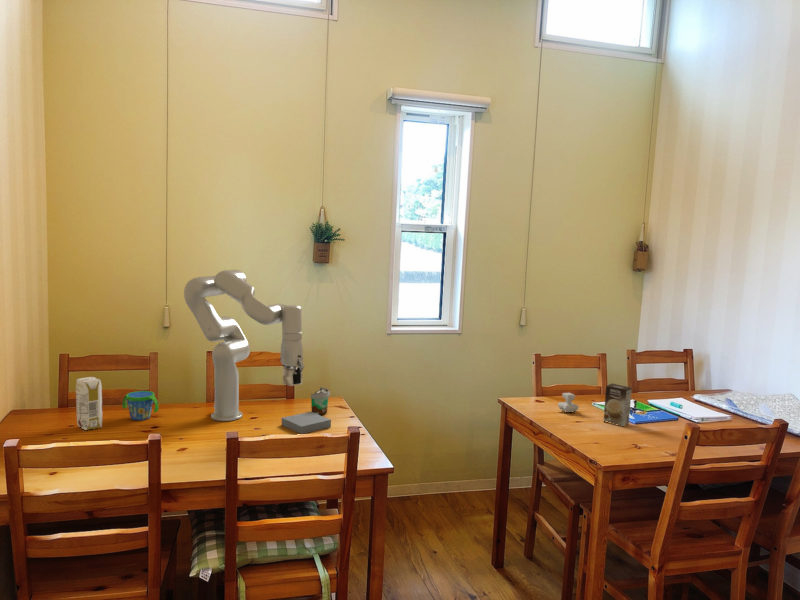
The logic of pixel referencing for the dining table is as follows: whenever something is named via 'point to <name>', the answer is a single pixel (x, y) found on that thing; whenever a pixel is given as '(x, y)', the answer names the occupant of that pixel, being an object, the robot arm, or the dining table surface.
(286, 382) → the block
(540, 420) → the dining table surface
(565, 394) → the stamp
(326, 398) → the food container
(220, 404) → the robot arm
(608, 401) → the coffee box
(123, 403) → the snack cup
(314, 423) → the stand
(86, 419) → the juice carton
